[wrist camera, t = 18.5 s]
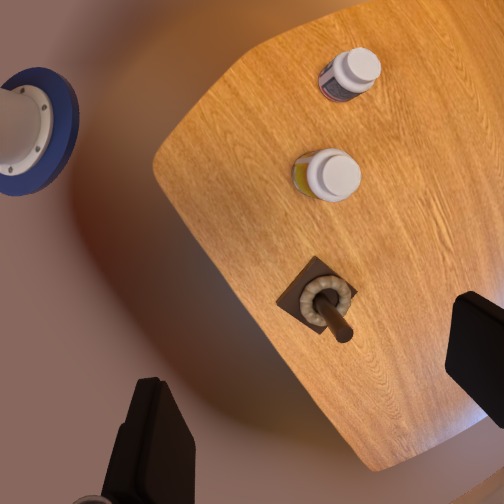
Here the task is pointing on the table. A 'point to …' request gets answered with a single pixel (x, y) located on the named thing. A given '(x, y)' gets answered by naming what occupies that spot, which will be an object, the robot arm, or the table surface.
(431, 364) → the table surface
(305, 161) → the supplement bottle
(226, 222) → the table surface
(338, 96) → the pill bottle
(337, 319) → the stand
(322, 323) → the ring
